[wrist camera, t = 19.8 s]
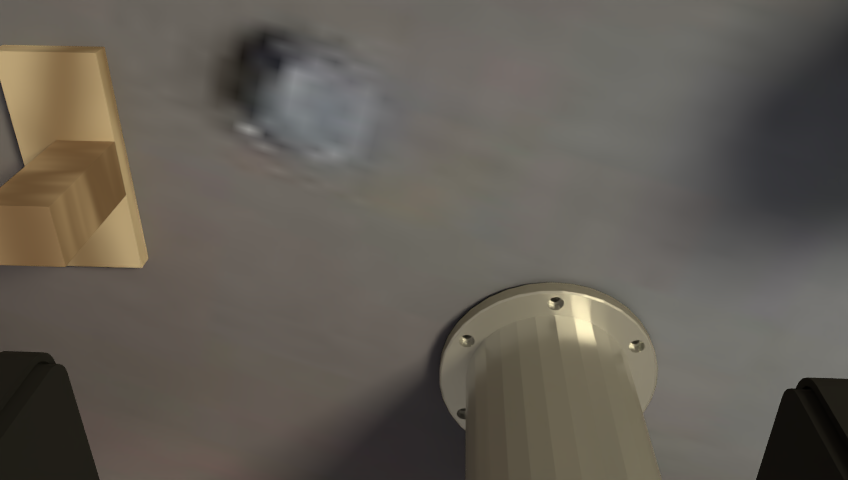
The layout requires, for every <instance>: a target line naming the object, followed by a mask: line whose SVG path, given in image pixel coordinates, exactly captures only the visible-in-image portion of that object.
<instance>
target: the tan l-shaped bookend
mask: <svg viewBox="0 0 848 480" xmlns="http://www.w3.org/2000/svg"><path fill="white" fill-rule="evenodd" d="M0 81H1V85H2V88H3V92H4V95H5V99H6V102H7V106H8V109H9V113H10V116H11V120H12V123H13V127H14V130H15V134H16V137H17V141H18V144H19V148H20V152H21V155H22V159H23V162H24V166H25V167H24V168H23V169H21V170H20V171H19V172H18V173H17V174H16V175H14V176H13V177H12V178H11V179H10V180H9V181H7V182H6V183H5V184H4V185H3V186H1V187H0V265H19V266H53V267H66V266H93V267H127V268H142V267H143V266H144V264H145V263H146V261H147V260H148V254H147V250H146V245H145V240H144V235H143V230H142V226H141V221H140V216H139V211H138V206H137V202H136V197H135V192H134V187H133V182H132V178H131V173H130V168H129V163H128V158H127V154H126V149H125V144H124V139H123V135H122V130H121V125H120V120H119V115H118V111H117V106H116V101H115V96H114V91H113V87H112V82H111V77H110V72H109V67H108V63H107V58H106V53H105V48H104V47H82V46H30V45H2V46H0Z"/></svg>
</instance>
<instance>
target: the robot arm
mask: <svg viewBox="0 0 848 480" xmlns="http://www.w3.org/2000/svg"><path fill="white" fill-rule="evenodd" d="M657 372H658V366H657V361H656V355H655V351H654V348H653V345H652V342H651V339H650V337H649V334H648V333H647V331H646V329H645V328H644V326H643V325H642V323H641V321H640V320H639V319H638V318H637V317H636V316H635V315H634V314H633V313H632V312H631V311H630V310H629V309H628V308H627V307H626V306H624V305H623V304H621V303H620V302H618V301H617V300H615V299H614V298H612V297H611V296H608V295H606V294H604V293H601V292H599V291H597V290H594V289H592V288H587V287H583V286H579V285H575V284H567V283H552V282H548V283H537V284H527V285H523V286H520V287H516V288H512V289H508V290H505V291H503V292H501V293H498V294H496V295H494V296H491V297H489V298H487V299H486V300H484V301H483V302H481V303H480V304H478V305H477V306H475V307H473V308H472V309H471V310H470V311H469V312H468V313H467V314H466V315H465V316H463V317H462V318H461V319H460V320H459V321H458V322H457V324H456V325H455V327H454V328H453V330H452V331H451V333H450V334H449V336H448V337H447V340H446V343H445V345H444V348H443V350H442V354H441V361H440V389H441V393H442V397H443V401H444V403H445V405H446V407H447V409H448V411H449V413H450V414H451V416H452V417H453V418H454V419H455V421H456V422H457V423H458V424H459V425H460V427H461V428H463V429H464V430H465V431H466V449H465V480H662V478H661V475H660V471H659V468H658V464H657V461H656V457H655V454H654V450H653V447H652V444H651V440H650V437H649V433H648V430H647V426H646V423H645V419H644V416H643V413H644V411H645V409H646V408H647V406H648V404H649V403H650V401H651V399H652V396H653V393H654V390H655V387H656V384H657ZM0 480H99V476H98V473H97V470H96V466H95V463H94V460H93V456H92V453H91V450H90V446H89V443H88V440H87V436H86V433H85V430H84V426H83V423H82V420H81V417H80V413H79V410H78V407H77V403H76V400H75V397H74V393H73V390H72V387H71V383H70V380H69V377H68V373H67V371H66V369H65V367H64V366H63V365H60V364H56V363H55V361H54V359H53V357H52V356H51V355H50V354H48V353H43V352H13V351H3V352H0ZM756 480H848V379H835V378H803V379H802V380H801V381H800V382H799V383H798V385H797V387H796V389H787V390H786V391H785V392H784V394H783V396H782V399H781V402H780V405H779V409H778V412H777V415H776V418H775V421H774V425H773V428H772V431H771V434H770V437H769V440H768V444H767V447H766V450H765V453H764V456H763V459H762V463H761V466H760V469H759V472H758V475H757V478H756Z"/></svg>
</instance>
